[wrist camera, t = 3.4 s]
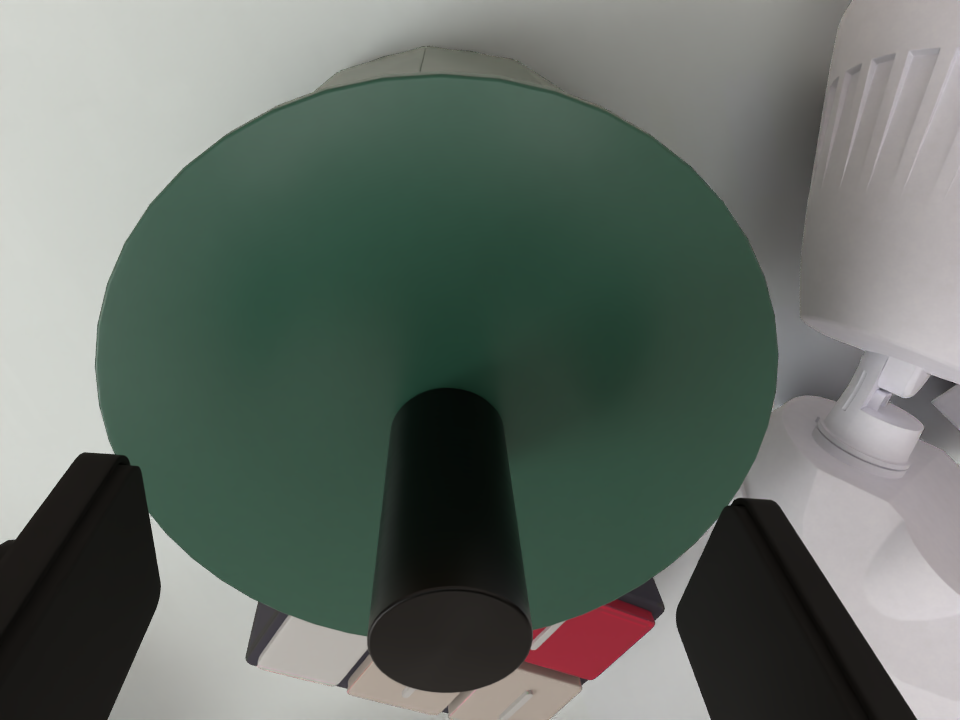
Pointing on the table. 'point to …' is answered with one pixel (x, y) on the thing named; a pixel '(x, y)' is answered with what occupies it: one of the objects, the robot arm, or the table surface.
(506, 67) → the pot
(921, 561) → the light fixture
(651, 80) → the table surface
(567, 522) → the lid
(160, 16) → the table surface
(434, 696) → the calculator
